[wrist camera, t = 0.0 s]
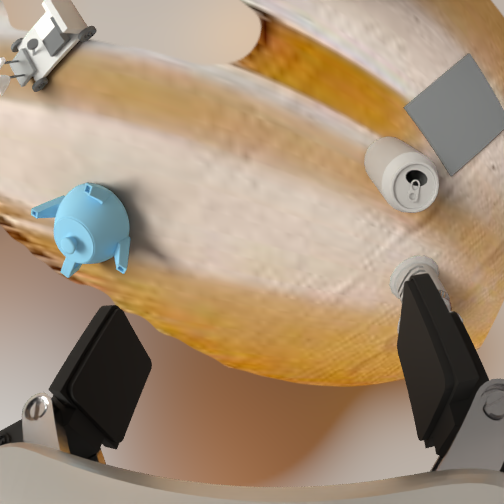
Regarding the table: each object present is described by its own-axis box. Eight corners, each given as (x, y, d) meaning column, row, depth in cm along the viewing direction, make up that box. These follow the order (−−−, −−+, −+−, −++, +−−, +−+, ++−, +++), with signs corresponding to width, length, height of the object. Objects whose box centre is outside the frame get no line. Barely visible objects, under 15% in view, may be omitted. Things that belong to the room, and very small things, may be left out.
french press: (448, 271, 50) (506, 377, 28) (408, 314, 55) (443, 425, 34) (414, 245, 48) (474, 359, 27) (372, 293, 54) (402, 415, 32)
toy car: (-4, 110, 33) (-26, 64, 29) (34, 100, 42) (11, 59, 37) (62, 25, 27) (35, -20, 23) (100, 29, 35) (72, -12, 31)
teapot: (55, 187, 50) (18, 212, 41) (117, 164, 47) (80, 187, 37) (86, 257, 57) (57, 290, 48) (148, 246, 54) (122, 282, 45)
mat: (403, 107, 38) (404, 108, 37) (467, 53, 31) (469, 53, 30) (449, 175, 41) (451, 176, 41) (508, 122, 35) (510, 123, 34)
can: (416, 143, 40) (452, 166, 30) (402, 189, 44) (432, 224, 33) (369, 129, 40) (395, 147, 30) (357, 178, 44) (377, 211, 34)
